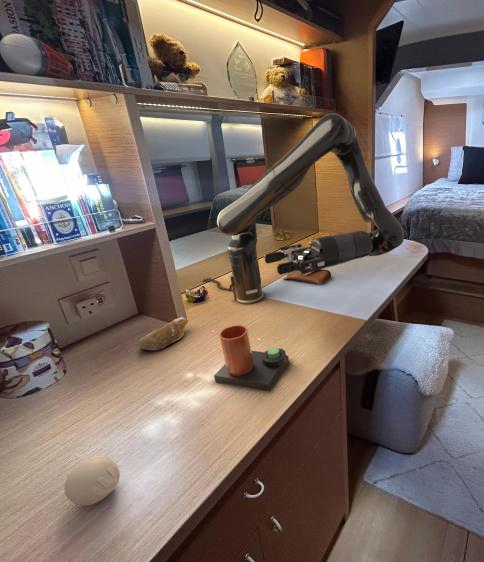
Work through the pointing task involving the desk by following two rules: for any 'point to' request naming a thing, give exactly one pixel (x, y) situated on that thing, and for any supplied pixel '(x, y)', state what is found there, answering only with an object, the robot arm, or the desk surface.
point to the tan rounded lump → (91, 480)
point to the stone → (163, 335)
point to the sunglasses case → (310, 276)
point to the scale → (257, 372)
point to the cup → (236, 350)
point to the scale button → (273, 353)
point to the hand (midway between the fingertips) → (271, 264)
